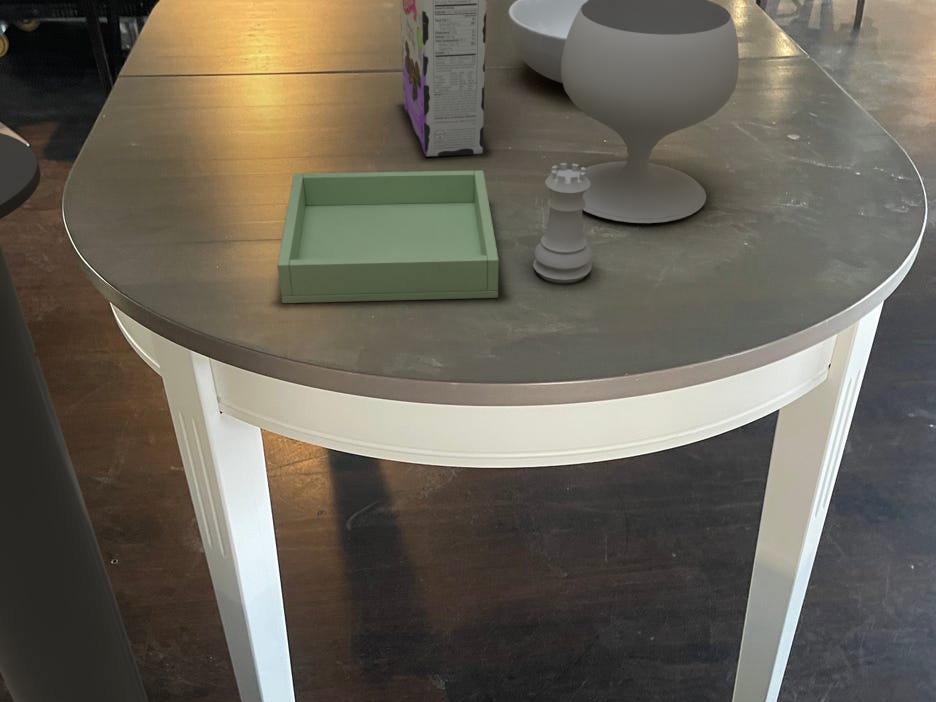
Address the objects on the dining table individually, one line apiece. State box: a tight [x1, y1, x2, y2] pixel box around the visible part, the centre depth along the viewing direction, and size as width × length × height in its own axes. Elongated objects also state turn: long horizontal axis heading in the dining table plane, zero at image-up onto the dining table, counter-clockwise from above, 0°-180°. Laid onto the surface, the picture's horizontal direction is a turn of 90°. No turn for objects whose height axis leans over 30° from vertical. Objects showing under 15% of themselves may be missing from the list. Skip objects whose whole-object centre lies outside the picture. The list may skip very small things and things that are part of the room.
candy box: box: [399, 0, 488, 158], centre depth 94 cm, size 14×6×16 cm, turn 12°
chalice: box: [561, 0, 740, 224], centre depth 83 cm, size 14×14×15 cm
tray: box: [277, 170, 500, 304], centre depth 78 cm, size 16×16×3 cm
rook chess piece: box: [532, 162, 592, 284], centre depth 75 cm, size 4×4×8 cm
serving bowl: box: [507, 0, 589, 84], centre depth 108 cm, size 21×21×7 cm
